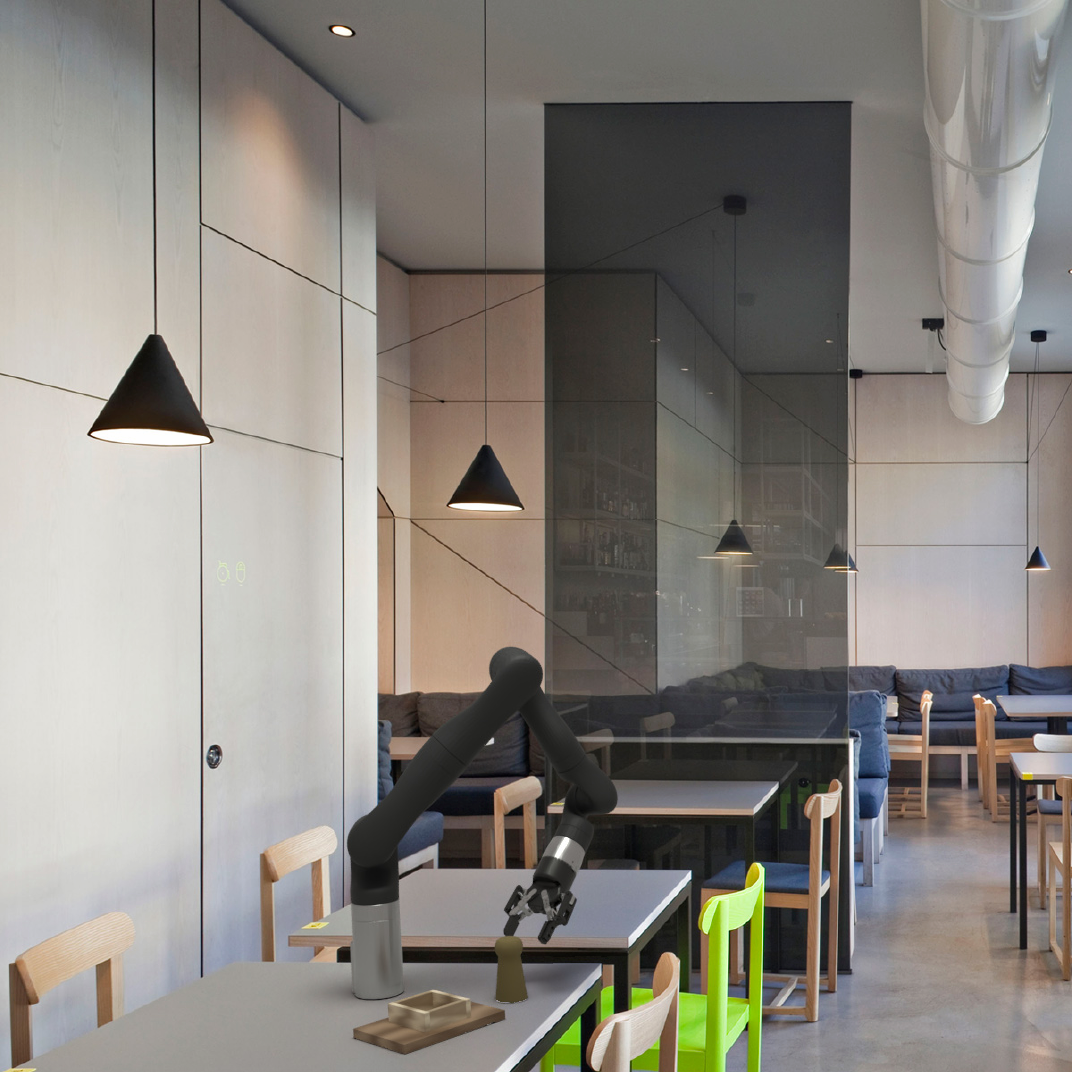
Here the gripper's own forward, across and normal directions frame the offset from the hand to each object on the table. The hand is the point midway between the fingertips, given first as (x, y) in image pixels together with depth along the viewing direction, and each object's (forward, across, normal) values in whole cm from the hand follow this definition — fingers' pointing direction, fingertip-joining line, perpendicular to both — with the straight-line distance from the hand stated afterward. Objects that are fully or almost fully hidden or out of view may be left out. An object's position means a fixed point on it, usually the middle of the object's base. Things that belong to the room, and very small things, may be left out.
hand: (524, 939), depth 228 cm
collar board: (+24, -1, -10) cm, 26 cm away
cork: (+10, 0, +4) cm, 11 cm away
